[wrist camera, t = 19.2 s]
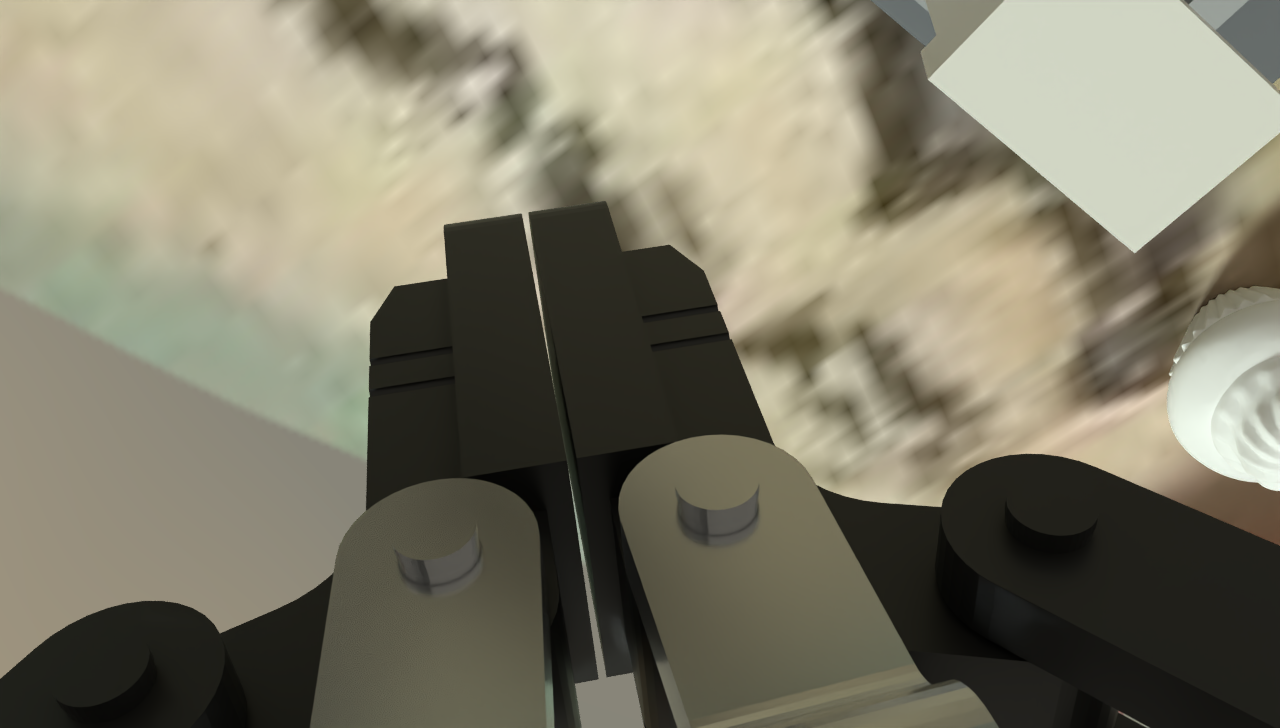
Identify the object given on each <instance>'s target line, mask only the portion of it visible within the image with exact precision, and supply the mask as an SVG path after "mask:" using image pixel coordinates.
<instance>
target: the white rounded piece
mask: <svg viewBox="0 0 1280 728" xmlns="http://www.w3.org/2000/svg"><path fill="white" fill-rule="evenodd" d="M1169 375H1170V376H1171V378H1170V381H1169V384H1168V392H1167V412H1168V418H1169V422H1170V425H1171V428H1172V430H1173V432H1174V434H1175V436H1176V438H1177V439H1178V441H1179V442H1180V444H1181V445H1182V446H1183V447H1184V449H1185V450H1186V451H1187V452H1188V453H1189V454H1190V455H1191V456H1193V457H1194V458H1195V459H1196V460H1197V461H1199V462H1200V463H1202V464H1203V465H1205V466H1206V467H1208V468H1209V469H1211V470H1213V471H1215V472H1217V473H1219V474H1221V475H1224V476H1227V477H1230V478H1233V479H1237V480H1241V481H1247V482H1256V483H1259V484H1260V485H1262V486H1263V487H1265V488H1267V489H1270V490H1274V491H1280V289H1277V288H1270V287H1260V286H1252V287H1250V288H1243V287H1239V288H1238V289H1237V290H1235V291H1233V290H1228V291H1227V292H1226V294H1219V295H1218V296H1217V298H1216V299H1214V300H1210V301H1209V302H1208V305H1206V306H1203V307H1201V309H1200V312H1199V313H1198V314H1196V315H1195V316H1194V318H1193V320H1192V322H1191V323H1190V325H1189V327H1188V329H1187V331H1186V333H1185V335H1184V338H1183V340H1182V342H1181V344H1180V346H1179V348H1178V350H1177V352H1176V354H1175V357H1174V363H1173V366H1172V368H1171V370H1170V373H1169Z"/></svg>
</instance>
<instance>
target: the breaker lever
mask: <svg viewBox="0 0 1280 728" xmlns="http://www.w3.org/2000/svg"><path fill="white" fill-rule="evenodd" d="M915 1H916V2H917V3H918V4H920V5H921V6H922V7H923V8H924V9H925V10H927V11H928V12H929V14H930V17H931V20H932V23H933V27H934V30H935V33H936V36H935V37H934V38H933V39H932V40H931V41H930V42H929V44H928V45H927V46H926V47H925V48H924V49H923V50H922V51H921V56H922V60H923V63H924V67H925V71H926V74H927V78H928V80H929V81H930V82H932V83H933V84H934V85H935V86H936V87H938V88H939V89H940V90H941V91H942V92H944V93H945V94H946V95H947V96H948V97H949V98H951V99H952V100H953V101H954V102H955V103H957V104H958V105H959V106H960V107H961V108H963V109H964V110H965V111H966V112H967V113H969V114H970V115H971V116H972V117H973V118H974V119H976V120H977V121H978V122H979V123H980V124H982V125H983V126H984V127H985V128H986V129H988V130H989V131H990V132H991V133H992V134H993V135H995V136H996V137H997V138H998V139H999V140H1001V141H1002V142H1003V143H1004V144H1005V145H1007V146H1008V147H1009V148H1010V149H1011V150H1013V151H1014V152H1015V153H1016V154H1017V155H1018V156H1020V157H1021V158H1022V159H1023V160H1024V161H1026V162H1027V163H1028V164H1029V165H1030V166H1032V167H1033V168H1034V169H1035V170H1036V171H1038V172H1039V173H1040V174H1041V175H1042V176H1043V177H1045V178H1046V179H1047V180H1048V181H1049V182H1051V183H1052V184H1053V185H1054V186H1055V187H1057V188H1058V189H1059V190H1060V191H1061V192H1062V193H1064V194H1065V195H1066V196H1067V197H1068V198H1070V199H1071V200H1072V201H1073V202H1074V203H1076V204H1077V205H1078V206H1079V207H1080V208H1082V209H1083V210H1084V211H1085V212H1086V213H1087V214H1089V215H1090V216H1091V217H1092V218H1093V219H1095V220H1096V221H1097V222H1098V223H1099V224H1101V225H1102V226H1103V227H1104V228H1105V229H1106V230H1108V231H1109V232H1110V233H1111V234H1112V235H1114V236H1115V237H1116V238H1117V239H1118V240H1120V241H1121V242H1122V243H1123V244H1124V245H1126V246H1127V247H1128V248H1129V249H1130V250H1131V251H1133V252H1134V253H1135V252H1137V251H1138V250H1139V249H1140V248H1141V247H1143V246H1144V245H1145V244H1146V243H1148V242H1149V241H1150V240H1151V239H1152V238H1154V237H1155V236H1156V235H1157V234H1158V233H1160V232H1161V231H1162V230H1163V229H1164V228H1166V227H1167V226H1168V225H1169V224H1170V223H1172V222H1173V221H1174V220H1175V219H1176V218H1178V217H1179V216H1180V215H1181V214H1182V213H1184V212H1185V211H1186V210H1187V209H1188V208H1190V207H1191V206H1192V205H1193V204H1194V203H1196V202H1197V201H1198V200H1199V199H1201V198H1202V197H1203V196H1204V195H1205V194H1207V193H1208V192H1209V191H1210V190H1211V189H1213V188H1214V187H1215V186H1216V185H1217V184H1219V183H1220V182H1221V181H1222V180H1223V179H1225V178H1226V177H1227V176H1228V175H1229V174H1231V173H1232V172H1233V171H1234V170H1235V169H1237V168H1238V167H1239V166H1240V165H1241V164H1243V163H1244V162H1245V161H1246V160H1247V159H1249V158H1250V157H1251V156H1252V155H1254V154H1255V153H1256V152H1257V151H1258V150H1260V149H1261V148H1262V147H1263V146H1264V145H1266V144H1267V143H1268V142H1269V141H1270V140H1272V139H1273V138H1274V137H1275V136H1276V135H1278V134H1279V133H1280V91H1279V90H1278V89H1277V88H1276V87H1275V86H1274V85H1273V84H1272V83H1271V82H1270V81H1269V80H1268V79H1267V78H1266V77H1265V76H1264V75H1263V74H1262V73H1261V72H1259V71H1258V70H1257V69H1256V68H1255V67H1254V66H1253V65H1252V64H1251V63H1250V62H1249V61H1248V60H1247V59H1246V58H1245V57H1244V56H1242V55H1241V54H1240V53H1239V52H1238V51H1237V50H1236V49H1235V48H1234V47H1233V46H1232V45H1231V44H1230V43H1229V42H1228V41H1227V40H1225V39H1224V38H1223V37H1222V36H1221V35H1220V34H1219V33H1218V32H1217V31H1216V30H1215V29H1214V28H1213V27H1212V26H1211V25H1210V24H1209V23H1207V22H1206V21H1205V20H1204V19H1203V18H1202V17H1201V16H1200V15H1199V14H1198V13H1197V12H1196V11H1195V10H1194V9H1193V8H1192V7H1190V6H1189V5H1188V4H1187V3H1186V2H1185V1H1184V0H915Z"/></svg>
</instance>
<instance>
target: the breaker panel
mask: <svg viewBox="0 0 1280 728" xmlns="http://www.w3.org/2000/svg"><path fill="white" fill-rule="evenodd" d="M871 1H873V2H874V3H875V4H876V5H877V6H878V7H880V8H881V9H882V10H883V11H884V12H885V13H887V14H888V15H889V16H890V17H891V18H892V19H894V20H895V21H896V22H897V23H898V24H900V25H901V26H902V27H903V28H904V29H905V30H907V31H908V32H909V33H910V34H911V35H912V36H914V37H915V38H916V39H917V40H918V41H920V42H921V43H922V44H923V45H924V46H925V47H926V46H927V45H928V44H929V42H930V41H931V40H932V39H933V38H934V37H935V36H936V33H935V30H934V27H933V23H932V20H931V17H930V14H929V12H928V11H927V10H925V9H924V8H923V7H922V6H921V5H920V4H918V3H917V2H916V1H915V0H871ZM1184 1H1185V2H1186V3H1187V4H1188V5H1189V6H1190V7H1192V8H1193V9H1194V10H1195V11H1196V12H1197V13H1198V14H1199V15H1200V16H1201V17H1202V18H1203V19H1204V20H1205V21H1206V22H1207V23H1209V24H1210V25H1211V26H1212V27H1213V28H1214V29H1215V30H1216V31H1217V32H1218V33H1219V34H1220V35H1221V36H1222V37H1223V38H1224V39H1225V40H1227V41H1228V42H1229V43H1230V44H1231V45H1232V46H1233V47H1234V48H1235V49H1236V50H1237V51H1238V52H1239V53H1240V54H1241V55H1242V56H1244V57H1245V58H1246V59H1247V60H1248V61H1249V62H1250V63H1251V64H1252V65H1253V66H1254V67H1255V68H1256V69H1257V70H1258V71H1259V72H1261V73H1262V74H1263V75H1264V76H1265V77H1266V78H1267V79H1268V80H1269V81H1270V82H1271V83H1272V84H1273V83H1274V82H1275V81H1276V80H1277V79H1278V78H1280V0H1184Z"/></svg>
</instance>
